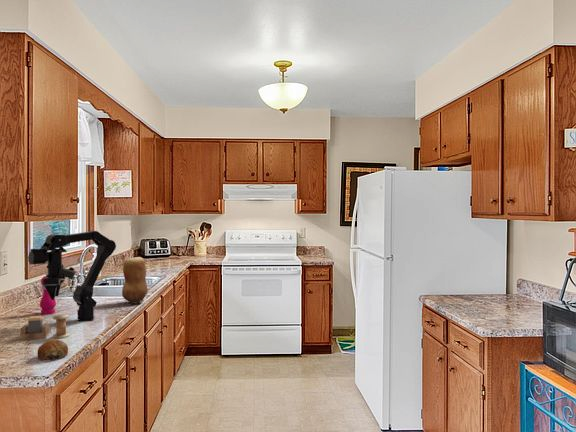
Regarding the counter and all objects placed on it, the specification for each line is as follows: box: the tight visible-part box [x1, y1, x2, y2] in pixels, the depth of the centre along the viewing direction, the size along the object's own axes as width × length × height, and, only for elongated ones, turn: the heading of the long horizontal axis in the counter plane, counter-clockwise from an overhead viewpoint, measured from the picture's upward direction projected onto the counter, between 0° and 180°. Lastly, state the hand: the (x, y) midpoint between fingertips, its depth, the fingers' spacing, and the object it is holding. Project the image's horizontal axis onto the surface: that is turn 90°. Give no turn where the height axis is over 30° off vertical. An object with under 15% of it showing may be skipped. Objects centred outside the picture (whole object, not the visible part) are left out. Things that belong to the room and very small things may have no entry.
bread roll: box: [36, 338, 69, 361], centre depth 180 cm, size 10×10×8 cm
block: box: [27, 315, 43, 333], centre depth 207 cm, size 4×4×6 cm
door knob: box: [52, 313, 70, 339], centre depth 207 cm, size 6×6×8 cm
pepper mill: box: [39, 272, 57, 316], centre depth 251 cm, size 7×7×20 cm
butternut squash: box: [121, 256, 149, 304], centre depth 277 cm, size 14×13×25 cm
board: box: [20, 322, 52, 341], centre depth 209 cm, size 9×11×4 cm
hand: (55, 298), depth 227 cm, fingers open, 9 cm apart
